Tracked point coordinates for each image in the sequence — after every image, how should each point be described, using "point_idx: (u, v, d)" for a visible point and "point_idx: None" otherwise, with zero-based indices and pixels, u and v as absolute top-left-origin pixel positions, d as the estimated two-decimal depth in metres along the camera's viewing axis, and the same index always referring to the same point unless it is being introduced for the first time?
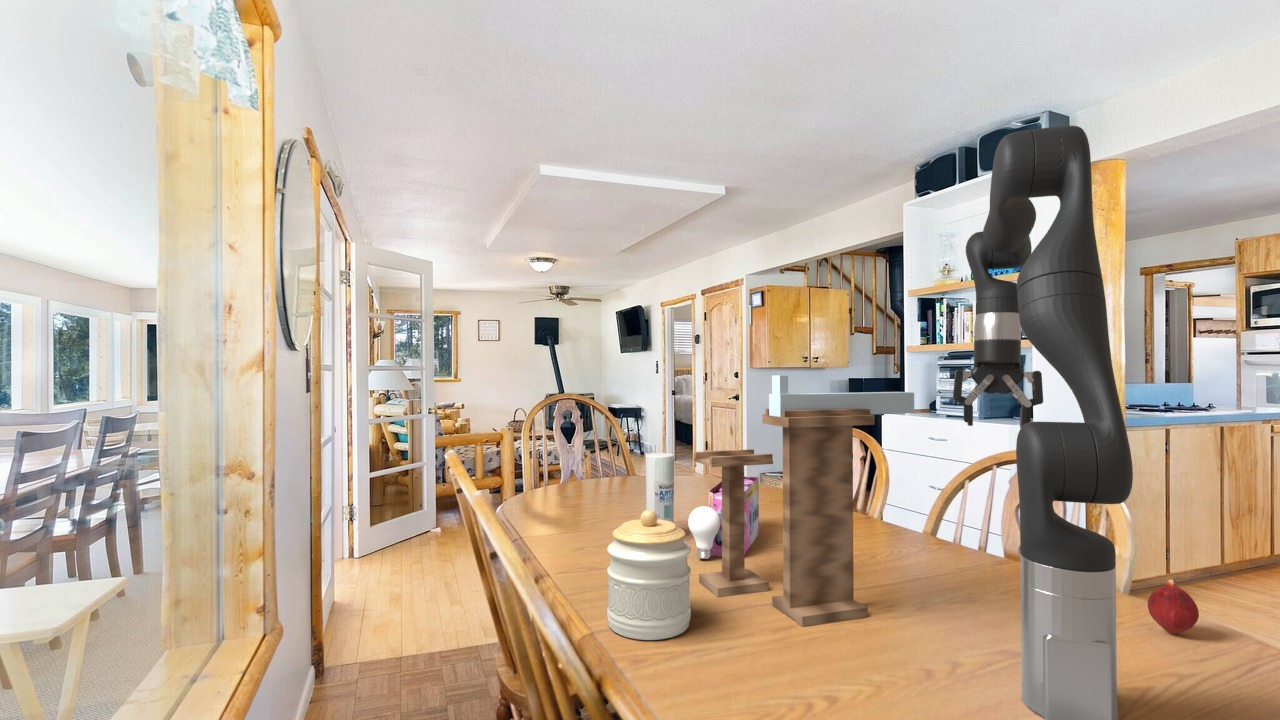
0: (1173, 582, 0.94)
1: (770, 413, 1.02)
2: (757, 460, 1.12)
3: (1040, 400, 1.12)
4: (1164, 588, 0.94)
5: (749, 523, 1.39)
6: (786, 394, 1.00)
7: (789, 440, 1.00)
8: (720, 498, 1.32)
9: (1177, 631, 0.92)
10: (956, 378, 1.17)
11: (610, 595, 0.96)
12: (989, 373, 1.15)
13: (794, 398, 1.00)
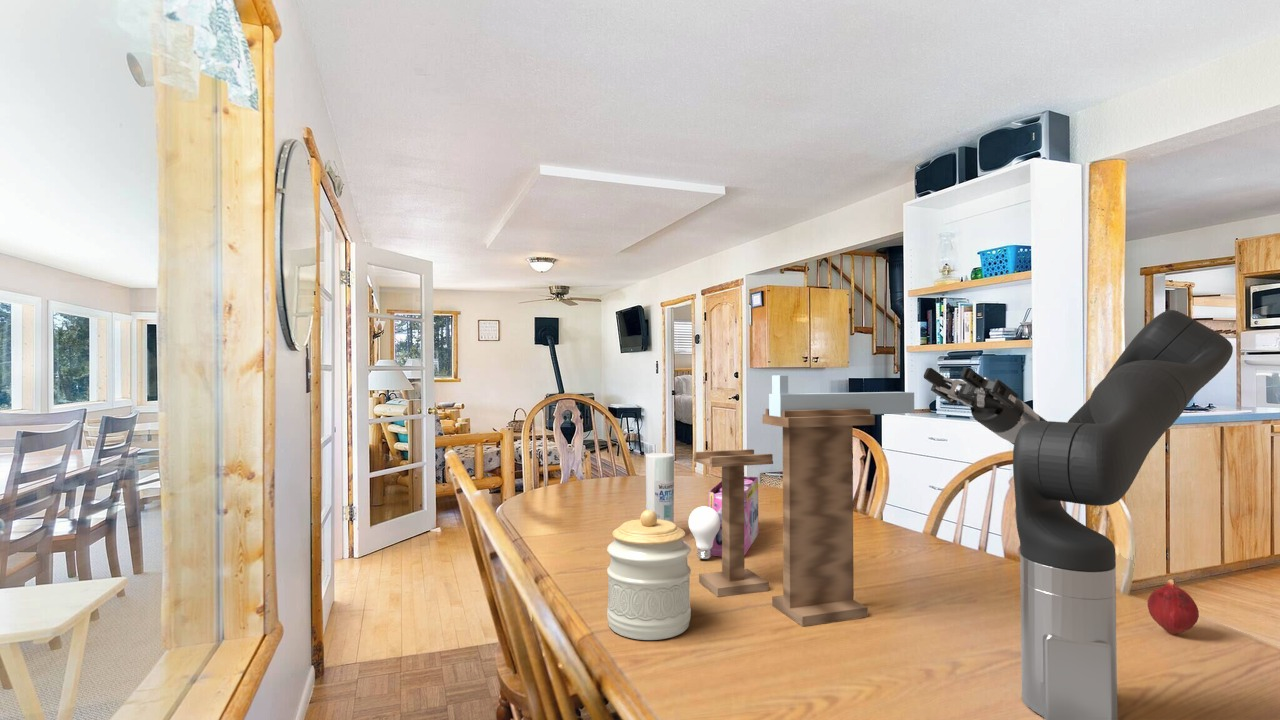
0: (1173, 582, 0.94)
1: (770, 413, 1.02)
2: (757, 460, 1.12)
3: None
4: (1164, 588, 0.94)
5: (749, 523, 1.39)
6: (786, 394, 1.00)
7: (789, 440, 1.00)
8: (721, 498, 1.32)
9: (1177, 631, 0.92)
10: None
11: (610, 595, 0.96)
12: None
13: (794, 398, 1.00)
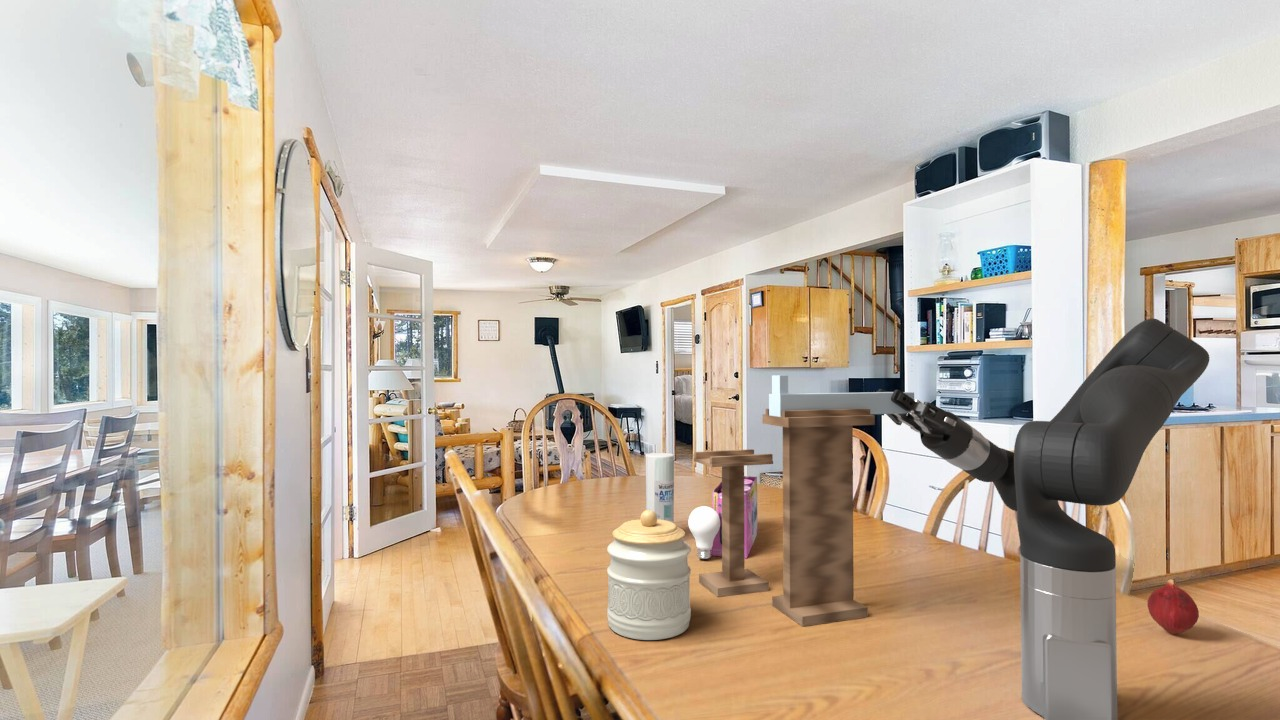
0: (1173, 582, 0.94)
1: (770, 413, 1.02)
2: (757, 460, 1.12)
3: (928, 403, 1.05)
4: (1164, 588, 0.94)
5: None
6: (786, 394, 1.00)
7: (789, 440, 1.00)
8: None
9: (1177, 631, 0.92)
10: None
11: (610, 595, 0.96)
12: None
13: (794, 398, 1.00)
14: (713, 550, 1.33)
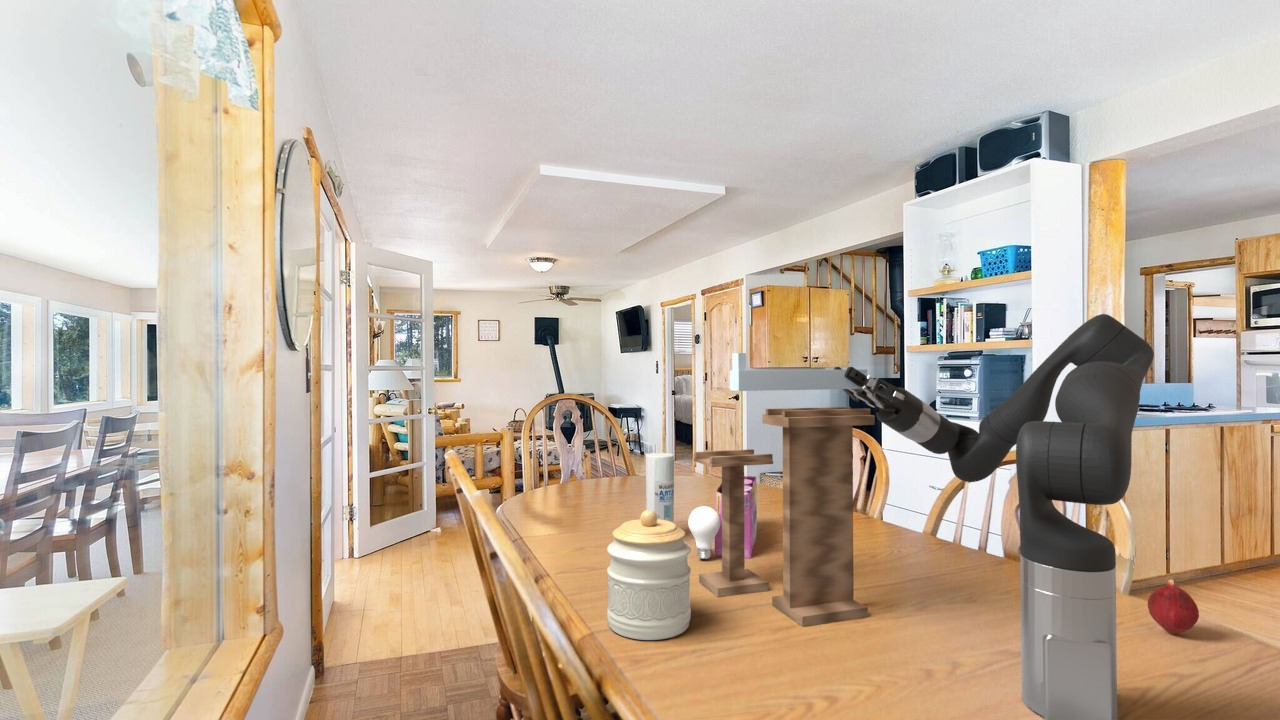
0: (1173, 582, 0.94)
1: (730, 388, 1.11)
2: (757, 460, 1.12)
3: None
4: (1164, 588, 0.94)
5: (753, 522, 1.39)
6: (744, 370, 1.08)
7: (789, 440, 1.00)
8: None
9: (1177, 631, 0.92)
10: None
11: (610, 595, 0.96)
12: None
13: (751, 374, 1.09)
14: (716, 550, 1.33)
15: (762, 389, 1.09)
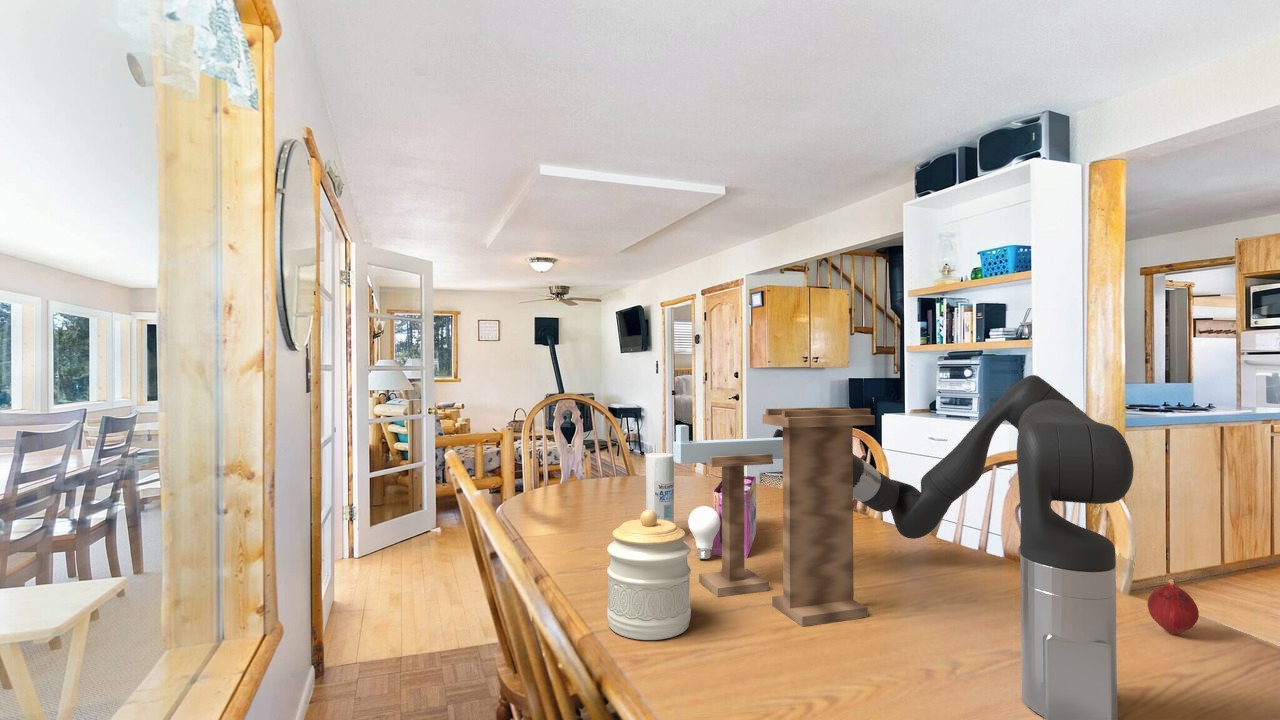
0: (1173, 582, 0.94)
1: (674, 459, 1.13)
2: (757, 460, 1.12)
3: None
4: (1164, 588, 0.94)
5: (751, 522, 1.40)
6: (686, 443, 1.11)
7: (789, 440, 1.00)
8: None
9: (1177, 631, 0.92)
10: None
11: (610, 595, 0.96)
12: None
13: (693, 447, 1.11)
14: (713, 550, 1.33)
15: (704, 461, 1.11)
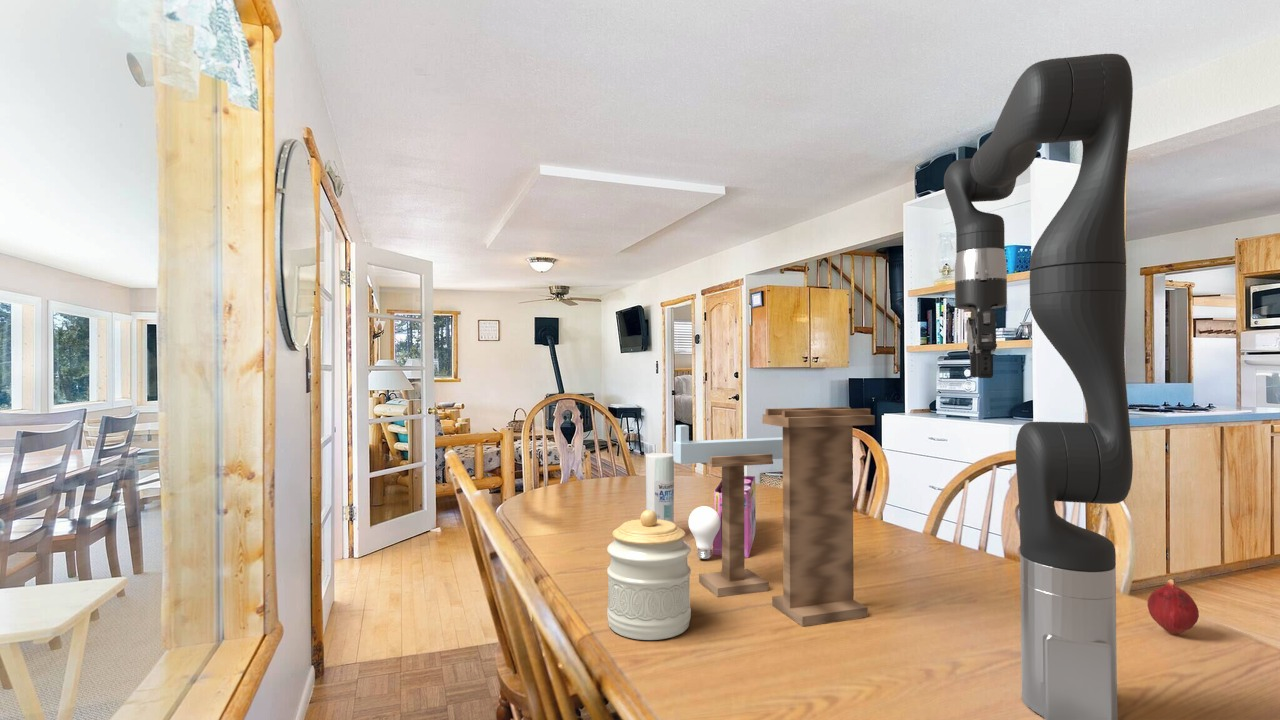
0: (1173, 582, 0.94)
1: (674, 459, 1.13)
2: (757, 460, 1.12)
3: (977, 345, 0.98)
4: (1164, 588, 0.94)
5: None
6: (686, 443, 1.11)
7: (789, 440, 1.00)
8: None
9: (1177, 631, 0.92)
10: None
11: (610, 595, 0.96)
12: (972, 319, 1.05)
13: (693, 447, 1.11)
14: (715, 550, 1.33)
15: (704, 461, 1.11)
